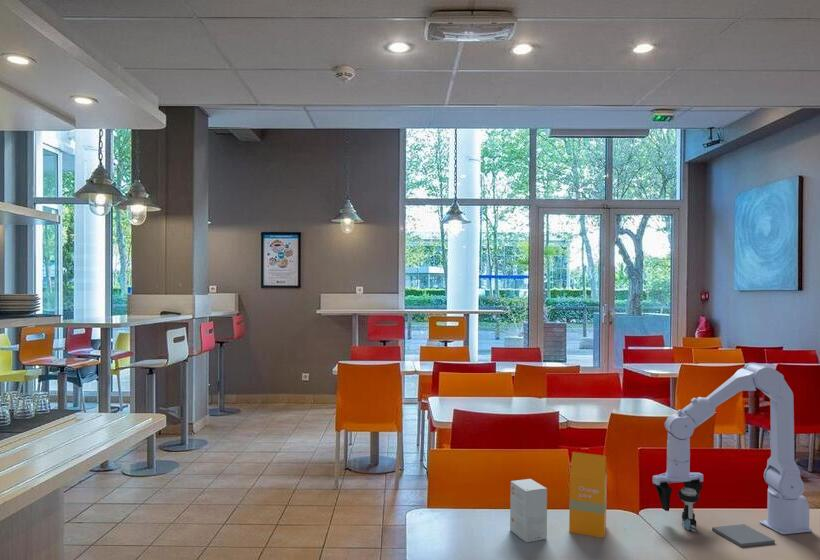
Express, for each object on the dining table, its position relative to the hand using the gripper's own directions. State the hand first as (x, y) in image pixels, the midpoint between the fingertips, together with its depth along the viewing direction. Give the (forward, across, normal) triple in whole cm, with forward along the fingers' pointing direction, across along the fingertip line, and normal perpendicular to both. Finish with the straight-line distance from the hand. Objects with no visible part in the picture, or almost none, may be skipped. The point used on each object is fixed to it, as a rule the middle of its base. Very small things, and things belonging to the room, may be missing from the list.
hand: (677, 508), depth 164 cm
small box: (+4, +44, 0) cm, 44 cm away
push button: (+4, 0, +5) cm, 6 cm away
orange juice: (+4, +27, 0) cm, 27 cm away
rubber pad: (+3, -10, +12) cm, 16 cm away
